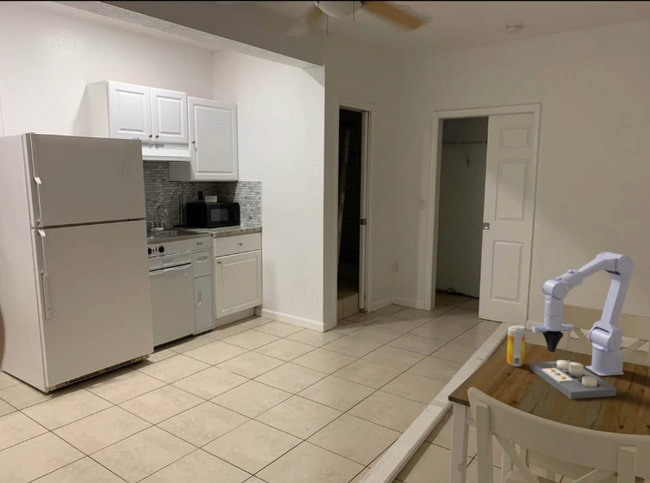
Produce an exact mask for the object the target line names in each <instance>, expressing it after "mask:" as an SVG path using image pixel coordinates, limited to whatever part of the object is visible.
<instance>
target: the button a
mask: <svg viewBox="0 0 650 483" xmlns="http://www.w3.org/2000/svg"><path fill="white" fill-rule="evenodd" d="M556 361H557V368H559V369H560V370H567V369H569V363H570V362H568V361H566V360H563V359H558V360H556Z"/></svg>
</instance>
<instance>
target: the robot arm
mask: <svg viewBox="0 0 650 483" xmlns="http://www.w3.org/2000/svg"><path fill="white" fill-rule="evenodd" d="M634 266H635V262H634V261H633V259H632V258H631V257H630V256H629V255H627V254H620V253H614V252H610V251H602V252H600V253H598V254H596V255H595V258H594V259H592V260H591V261H589V262H587V263H586V264H584V265H583V266H581V267H580V268H578V269H568V270H566V272H565V273H564V274H562V275H560V276H556V277H555V278H554V279H548V280H546V281H545V282H544V284H543V286H542V287H541V291H542V293H543V296H544V297H543V298H544V300H545V301H544V316H543V318H544V319H543V324H538V325H533V326H531V332H532V333H534V334H538V333H542V334H543V337H544V339H545V342H546V346H547V351H549V352H550V353H555V352H556V350H557V347H558V344H559V342H560V341H561V339H562V338H563V337H564V333H563V332H574V325H572V324H571V323H567V324H566V323H563V315H564V314H563V313H564V298H566V297H567V296H568V294H569V292H570V291H571V290H573V289H575V288H577V287H578V286H581V285H582V284H583V283H584V279H586V278H588V277H590V276H592V275H594V274H596V273H599V272H600V271H605V272H606V273H607V274H608V275H609V277H610V278H611V283H610V285H609V289H608V293H607V296H606V300H605V304H604V307H603V311H602V314H601V318H600V320H598V321H595V322H594V323H593V326H592V327H591V329H590V330H589V332H588V335H587V336H588V340H589V341H590V342H591V346H592V355H591V365H586V366H585V368H586V369H588V370H589V371H591V372H593V373H595V374H596V375H598V376H600V377H604V376H619V375H625V374H624V371H623V365H624V355H623V351H622V349H621V347H622V344H623V340H622V339H623V338H622V337H623V330H622V329H621V328H620V326H619V321H620V318H621V315H622V310H623V307H624V304H625V301H626V298H627V297H626V296H627V293H628V290H629V287H630V283H631V280H632V272H633V269H634Z"/></svg>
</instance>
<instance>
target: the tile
mask: <svg viewBox="0 0 650 483" xmlns="http://www.w3.org/2000/svg"><path fill="white" fill-rule="evenodd" d="M542 371H544V372H545V373H546V374H548V375H549V376H551V377H552V378H554V379H555V380H556V381H558V382H559V383H560V382H573V379H571V378H570V377H568V376H567V375H565V374H564V373H562V372H561V371H559V370H558V369H556V368H547V369H542Z"/></svg>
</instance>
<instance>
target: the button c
mask: <svg viewBox="0 0 650 483" xmlns="http://www.w3.org/2000/svg"><path fill="white" fill-rule="evenodd" d="M582 384H583V385H585V386H586V387H597V379H596V378H594V377H591V376H583V377H582Z"/></svg>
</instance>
